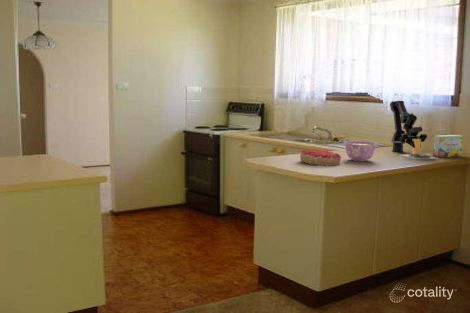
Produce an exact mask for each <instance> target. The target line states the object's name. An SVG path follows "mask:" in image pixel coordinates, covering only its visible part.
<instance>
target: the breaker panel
mask: <svg viewBox="0 0 470 313" xmlns="http://www.w3.org/2000/svg"><path fill="white" fill-rule="evenodd" d="M400 156H401V157H405V158H407V159H411V160H414V161H415V160H438V158H439V157H434V156H433V154H432V155H431V153H420V154H412V151H411V152H409V154H400Z"/></svg>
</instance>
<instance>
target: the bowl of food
mask: <svg viewBox="0 0 470 313" xmlns="http://www.w3.org/2000/svg"><path fill="white" fill-rule="evenodd" d="M344 146H345V151H346V155H347V157H348V158H349V159H351V160H352V161H353V162H366V161H368V160H369V159H371V158H372V157H373V155H374V153H375V148H376V146H377V143H376V142H371V141H365V140H364V141H363V140H362V141H361V140H349V141H345V142H344Z"/></svg>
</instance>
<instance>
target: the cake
mask: <svg viewBox="0 0 470 313" xmlns="http://www.w3.org/2000/svg"><path fill="white" fill-rule="evenodd" d="M299 157H300V161H301V162H303V163H305V164H307V163H308V165H310V164H312V165H315V166H317V165H319V166H325V165H328V166H337V165H336V164H338V165H340V164H341V161H342V160H341V159H342V156H341V155H340V154H339V153H336V152H333V151H328V150H327V149H326V150H325V149H324V150H322V149H317V148H313V149H312V148H310V149H309V148H308V149H303V150H302V151H301V153H300V156H299Z"/></svg>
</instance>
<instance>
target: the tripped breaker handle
mask: <svg viewBox="0 0 470 313" xmlns="http://www.w3.org/2000/svg"><path fill="white" fill-rule="evenodd" d="M412 140H413V143H414V145H415V148H413V147H412V151H411V152H412V154H421V148H420V144H421V145H422V142H421V139H412Z"/></svg>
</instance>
